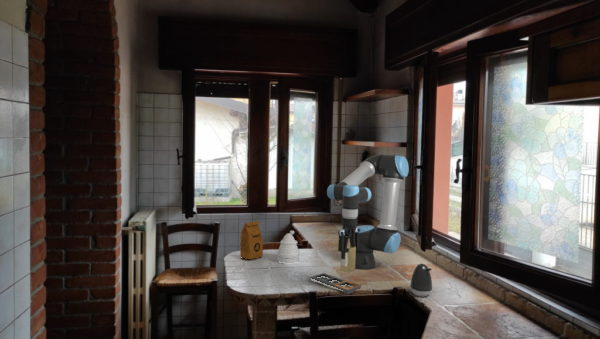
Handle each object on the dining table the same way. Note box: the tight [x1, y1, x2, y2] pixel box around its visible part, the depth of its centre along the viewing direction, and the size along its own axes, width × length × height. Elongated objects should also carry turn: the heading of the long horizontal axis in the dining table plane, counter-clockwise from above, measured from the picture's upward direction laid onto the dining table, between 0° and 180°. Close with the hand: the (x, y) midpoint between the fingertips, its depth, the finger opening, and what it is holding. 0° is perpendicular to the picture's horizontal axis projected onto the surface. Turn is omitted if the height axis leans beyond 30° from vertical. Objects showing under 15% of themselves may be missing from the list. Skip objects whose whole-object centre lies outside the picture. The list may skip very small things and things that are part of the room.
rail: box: [310, 272, 362, 295], centre depth 232 cm, size 10×25×2 cm, turn 43°
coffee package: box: [240, 220, 264, 260], centre depth 274 cm, size 10×12×22 cm
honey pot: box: [276, 230, 300, 263], centre depth 270 cm, size 13×13×18 cm
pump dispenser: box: [409, 263, 433, 298], centre depth 221 cm, size 10×10×15 cm
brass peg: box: [339, 244, 356, 274], centre depth 225 cm, size 5×5×12 cm
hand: (347, 264), depth 225 cm, fingers closed on brass peg, 5 cm apart
